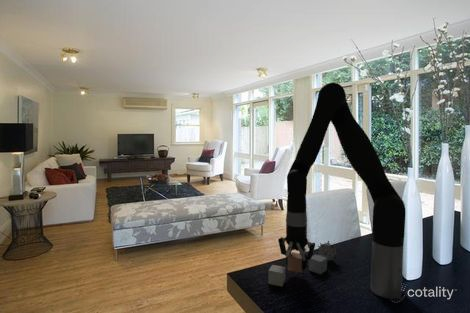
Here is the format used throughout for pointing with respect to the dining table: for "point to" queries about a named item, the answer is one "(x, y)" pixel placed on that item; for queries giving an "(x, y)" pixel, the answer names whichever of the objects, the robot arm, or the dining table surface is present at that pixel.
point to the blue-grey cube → (318, 264)
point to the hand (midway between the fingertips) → (296, 267)
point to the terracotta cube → (295, 262)
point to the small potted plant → (327, 251)
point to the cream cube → (277, 275)
